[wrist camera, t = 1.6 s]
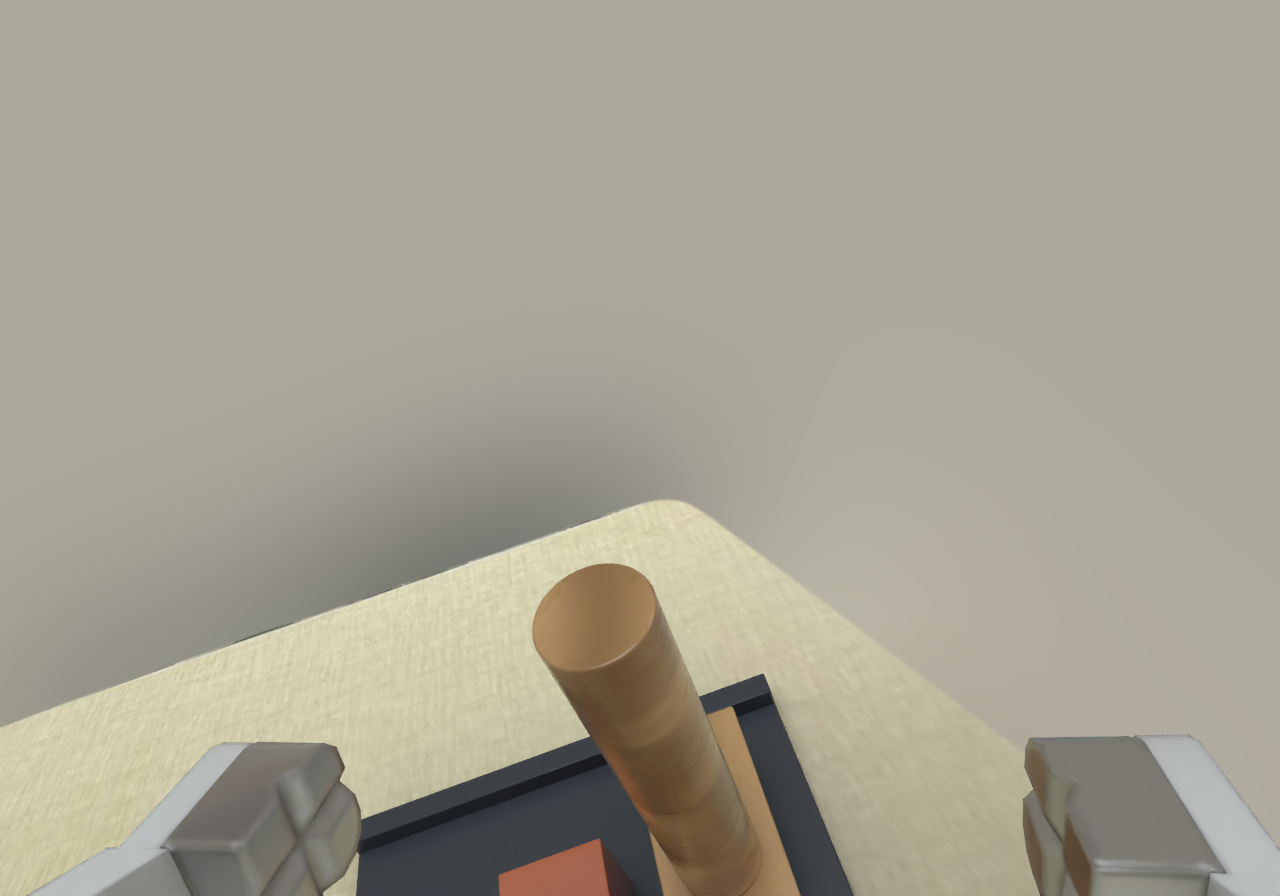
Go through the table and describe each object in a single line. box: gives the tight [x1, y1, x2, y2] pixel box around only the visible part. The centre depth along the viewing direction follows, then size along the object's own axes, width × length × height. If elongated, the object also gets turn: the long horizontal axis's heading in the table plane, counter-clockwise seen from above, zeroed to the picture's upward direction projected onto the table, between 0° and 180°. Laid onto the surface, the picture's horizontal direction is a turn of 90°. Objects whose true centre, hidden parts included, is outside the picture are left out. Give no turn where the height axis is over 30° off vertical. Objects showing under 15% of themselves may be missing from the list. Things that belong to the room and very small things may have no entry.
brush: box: [532, 564, 801, 896], centre depth 23 cm, size 4×10×18 cm, turn 13°
